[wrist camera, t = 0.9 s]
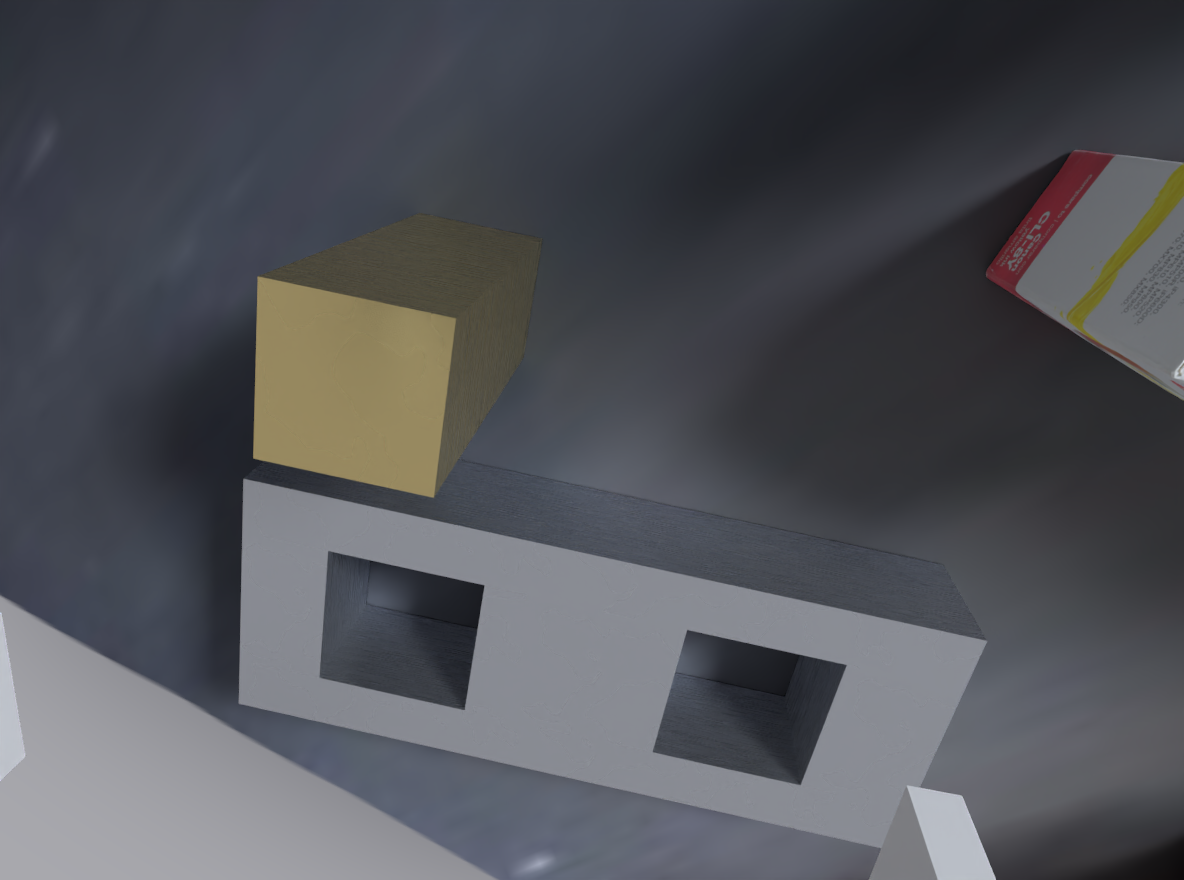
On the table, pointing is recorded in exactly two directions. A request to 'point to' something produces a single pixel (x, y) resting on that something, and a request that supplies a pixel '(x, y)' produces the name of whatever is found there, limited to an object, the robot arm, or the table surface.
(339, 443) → the gold square peg
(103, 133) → the table surface
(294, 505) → the white peg board
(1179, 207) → the ink box
